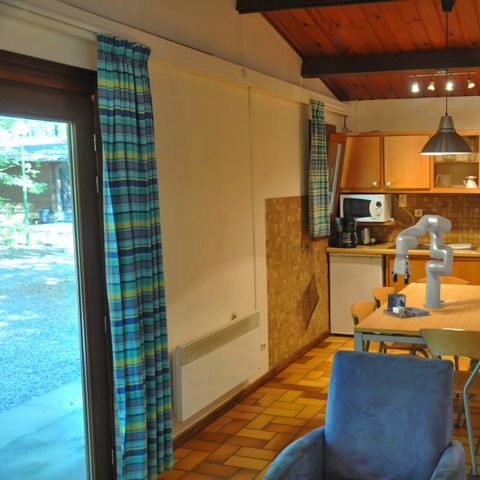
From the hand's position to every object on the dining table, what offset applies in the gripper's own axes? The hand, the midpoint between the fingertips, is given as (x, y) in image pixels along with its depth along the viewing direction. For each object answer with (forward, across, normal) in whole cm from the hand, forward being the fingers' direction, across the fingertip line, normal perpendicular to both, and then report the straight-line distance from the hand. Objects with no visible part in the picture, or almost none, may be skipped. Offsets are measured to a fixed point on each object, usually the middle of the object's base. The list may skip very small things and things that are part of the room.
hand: (400, 283), depth 447 cm
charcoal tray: (+21, -2, -12) cm, 24 cm away
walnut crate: (+21, 0, 0) cm, 21 cm away
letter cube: (+21, 0, 0) cm, 21 cm away
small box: (+21, +14, -12) cm, 28 cm away
